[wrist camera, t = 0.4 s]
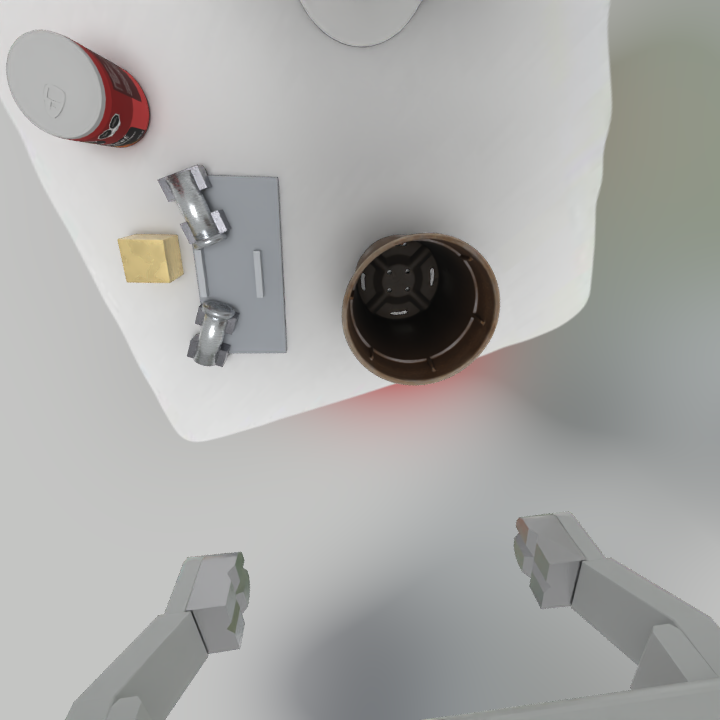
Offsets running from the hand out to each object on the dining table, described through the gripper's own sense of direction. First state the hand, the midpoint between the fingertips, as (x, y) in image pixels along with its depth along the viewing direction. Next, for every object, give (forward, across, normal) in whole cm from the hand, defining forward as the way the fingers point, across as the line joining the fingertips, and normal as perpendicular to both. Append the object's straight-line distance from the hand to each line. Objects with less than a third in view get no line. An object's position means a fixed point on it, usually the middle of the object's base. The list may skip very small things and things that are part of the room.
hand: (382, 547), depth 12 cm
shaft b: (+45, +18, +7) cm, 49 cm away
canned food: (+46, +23, -19) cm, 55 cm away
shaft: (+45, +16, -8) cm, 49 cm away
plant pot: (+46, -8, +3) cm, 46 cm away
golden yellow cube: (+46, +23, -3) cm, 51 cm away
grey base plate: (+45, +13, 0) cm, 47 cm away
